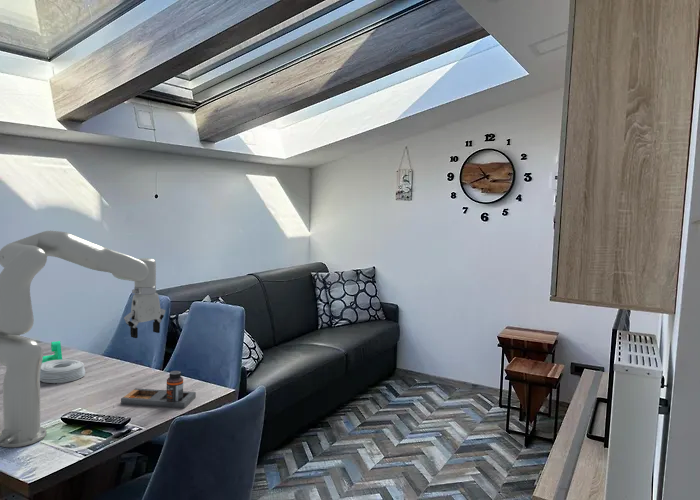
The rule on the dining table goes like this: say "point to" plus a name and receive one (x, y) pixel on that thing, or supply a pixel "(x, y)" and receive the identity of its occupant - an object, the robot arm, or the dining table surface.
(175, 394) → the supplement bottle
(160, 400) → the grey rectangular frame
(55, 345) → the camera mount
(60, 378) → the cable
